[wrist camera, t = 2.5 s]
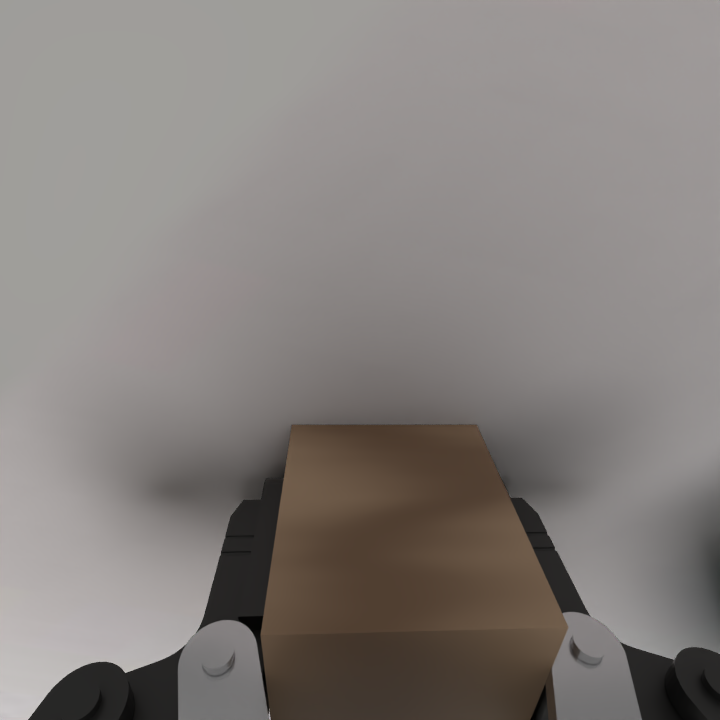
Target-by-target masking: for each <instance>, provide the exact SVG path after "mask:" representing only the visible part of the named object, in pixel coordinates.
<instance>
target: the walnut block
mask: <svg viewBox="0 0 720 720" xmlns="http://www.w3.org/2000/svg"><path fill="white" fill-rule="evenodd" d="M568 628H569V627H568V625H567V623H566V621H565V618H564V616H563V614H562V612H561V610H560V607H559V605H558V603H557V601H556V599H555V596H554V594H553V592H552V590H551V588H550V585H549V583H548V581H547V579H546V577H545V574H544V572H543V570H542V568H541V566H540V563H539V561H538V559H537V557H536V555H535V552H534V550H533V548H532V546H531V543H530V541H529V539H528V537H527V535H526V532H525V530H524V528H523V526H522V524H521V521H520V519H519V517H518V515H517V513H516V510H515V508H514V506H513V504H512V502H511V499H510V497H509V495H508V493H507V491H506V488H505V486H504V484H503V482H502V480H501V477H500V475H499V473H498V471H497V469H496V466H495V464H494V462H493V460H492V458H491V455H490V453H489V451H488V449H487V447H486V444H485V442H484V440H483V438H482V436H481V433H480V431H479V429H478V427H477V425H292V427H291V434H290V440H289V447H288V454H287V460H286V467H285V474H284V481H283V487H282V494H281V501H280V508H279V514H278V521H277V528H276V534H275V541H274V548H273V555H272V561H271V568H270V575H269V582H268V588H267V595H266V602H265V609H264V615H263V622H262V629H261V643H262V652H263V660H264V668H265V676H266V684H267V693H268V701H269V709H270V717H271V720H530V719H531V717H532V715H533V712H534V710H535V707H536V705H537V703H538V700H539V698H540V695H541V693H542V690H543V688H544V686H545V682H546V679H547V677H548V675H549V672H550V670H551V667H552V666H553V664H554V661H555V659H556V657H557V654H558V652H559V649H560V647H561V645H562V642H563V640H564V637H565V635H566V633H567V630H568Z"/></svg>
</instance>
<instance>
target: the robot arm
mask: <svg viewBox="0 0 720 720" xmlns="http://www.w3.org/2000/svg"><path fill="white" fill-rule="evenodd" d="M283 481H284V478H266V480H265V483H264V488H263V493H262V498H261V500H243V501H242V503H241V504H240V505H239V507H238V508H237V509H236V510H235V512H234V513H233V514H232V515H231V517H230V521H229V524H228V528H227V532H226V537H225V540H224V543H223V547H222V551H221V556H220V558H219V562H218V566H217V569H216V573H215V577H214V581H213V584H212V588H211V592H210V596H209V599H208V603H207V607H206V611H205V614H204V618H203V620H202V623H201V625H200V627H199V629H198V631H197V632H196V634H195V635H194V636H193V637H191V639H190V640H189V641H188V643H187V644H186V645H185V646H184V647H183V648H181V649H180V650H179V651H177V652H176V653H175V654H173V655H171V656H169V657H167V658H165V659H163V660H161V661H158V662H155V663H152V664H150V665H147V666H144V667H141V668H138V669H136V670H133V671H130V672H127V673H125V672H124V671H123V670H122V669H121V668H120V667H119V666H118V665H115V664H113V663H109V662H96V663H91V664H88V665H85V666H83V667H80V668H78V669H76V670H75V671H73V672H71V673H70V674H68V675H67V676H66V677H64V678H63V679H62V680H61V681H60V682H59V683H58V684H56V685H55V686H54V687H53V689H52V690H51V691H50V692H49V693H48V695H47V696H46V697H45V698H44V700H43V701H42V702H41V704H40V705H39V706H38V708H37V709H36V710H35V712H34V713H33V714H32V716H31V717H30V718H29V719H28V720H269V717H268V715H269V701H268V693H267V684H266V676H265V668H264V660H263V652H262V643H261V629H262V622H263V615H264V609H265V602H266V595H267V588H268V582H269V575H270V568H271V561H272V555H273V548H274V541H275V534H276V528H277V521H278V514H279V508H280V501H281V494H282V487H283ZM502 482H503V481H502ZM503 484H504V483H503ZM504 486H505V485H504ZM506 491H507V490H506ZM507 493H508V492H507ZM508 495H509V494H508ZM509 497H510V496H509ZM510 499H511V502H512V504H513V506H514V508H515V510H516V513H517V515H518V517H519V519H520V521H521V524H522V526H523V528H524V530H525V532H526V535H527V537H528V539H529V541H530V543H531V546H532V548H533V550H534V552H535V555H536V557H537V559H538V561H539V563H540V566H541V568H542V570H543V572H544V574H545V577H546V579H547V581H548V583H549V585H550V588H551V590H552V592H553V594H554V596H555V599H556V601H557V603H558V605H559V607H560V610H561V612H562V614H563V616H564V618H565V621H566V623H567V625H568V627H569V628H568V630H567V633H566V635H565V637H564V640H563V642H562V645H561V647H560V649H559V652H558V654H557V657H556V659H555V661H554V664H553V666H552V667H551V670H550V672H549V675H548V677H547V679H546V682H545V686H544V688H543V690H542V693H541V695H540V698H539V700H538V703H537V705H536V707H535V710H534V712H533V715H532V717H531V719H530V720H720V654H718V653H715V652H713V651H710V650H707V649H704V648H697V647H691V648H686V649H684V650H682V651H680V652H679V654H678V655H677V656H676V658H675V659H674V660H673V659H669V658H666V657H662V656H659V655H656V654H652V653H649V652H646V651H642V650H639V649H636V648H633V647H630V646H627V645H625V644H623V643H621V642H619V640H618V639H617V637H616V636H615V635H614V634H613V633H612V632H611V631H610V630H609V629H608V628H607V627H606V626H605V625H603V624H602V623H601V622H599V621H598V620H596V619H594V618H592V617H591V616H590V615H589V613H588V612H587V610H586V608H585V606H584V604H583V602H582V600H581V598H580V596H579V594H578V592H577V590H576V588H575V586H574V584H573V582H572V580H571V578H570V576H569V574H568V573H567V571H566V569H565V567H564V565H563V563H562V561H561V559H560V557H559V555H558V553H557V551H555V547H554V545H553V543H552V541H551V539H550V537H549V536H548V535H547V531H546V529H545V527H544V525H543V523H542V521H541V519H540V517H539V515H538V513H537V512H536V511H535V510H533V509H532V508H531V507H530V506H529V505H528V504H527V503H526V502H525V501H524V500H523V499H522V498H510Z"/></svg>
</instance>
